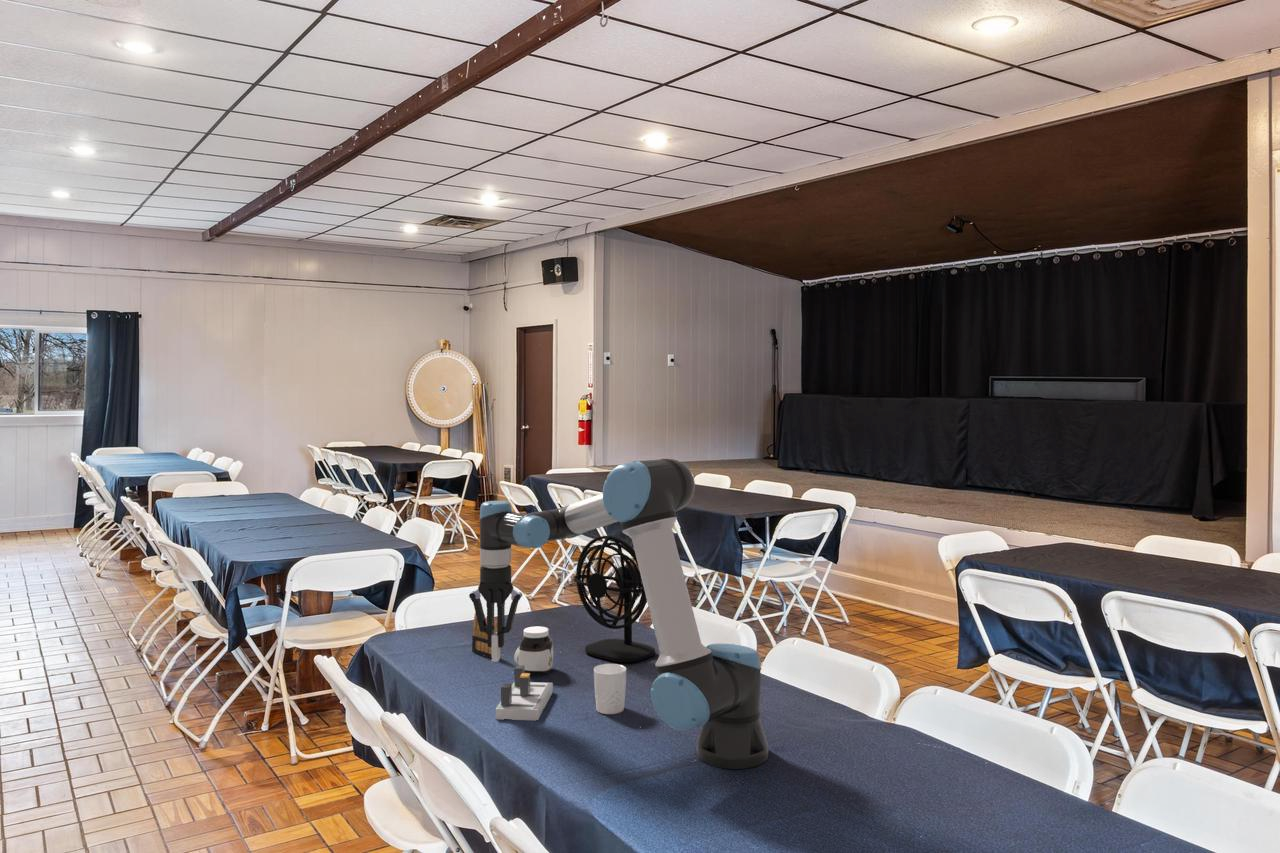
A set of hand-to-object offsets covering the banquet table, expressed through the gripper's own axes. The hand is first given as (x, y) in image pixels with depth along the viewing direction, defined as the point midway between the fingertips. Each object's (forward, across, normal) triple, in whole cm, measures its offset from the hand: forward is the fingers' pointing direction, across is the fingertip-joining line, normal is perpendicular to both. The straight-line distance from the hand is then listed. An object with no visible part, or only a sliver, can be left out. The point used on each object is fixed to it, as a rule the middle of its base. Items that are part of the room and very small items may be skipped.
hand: (495, 660), depth 221 cm
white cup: (+11, -28, +1) cm, 30 cm away
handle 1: (+8, -4, +7) cm, 12 cm away
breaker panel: (+11, -7, 0) cm, 13 cm away
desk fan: (+11, -25, -43) cm, 51 cm away
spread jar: (+11, -3, -27) cm, 29 cm away
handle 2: (+8, -4, -7) cm, 11 cm away
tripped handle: (+8, -7, 0) cm, 11 cm away
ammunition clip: (+12, +13, -39) cm, 42 cm away
